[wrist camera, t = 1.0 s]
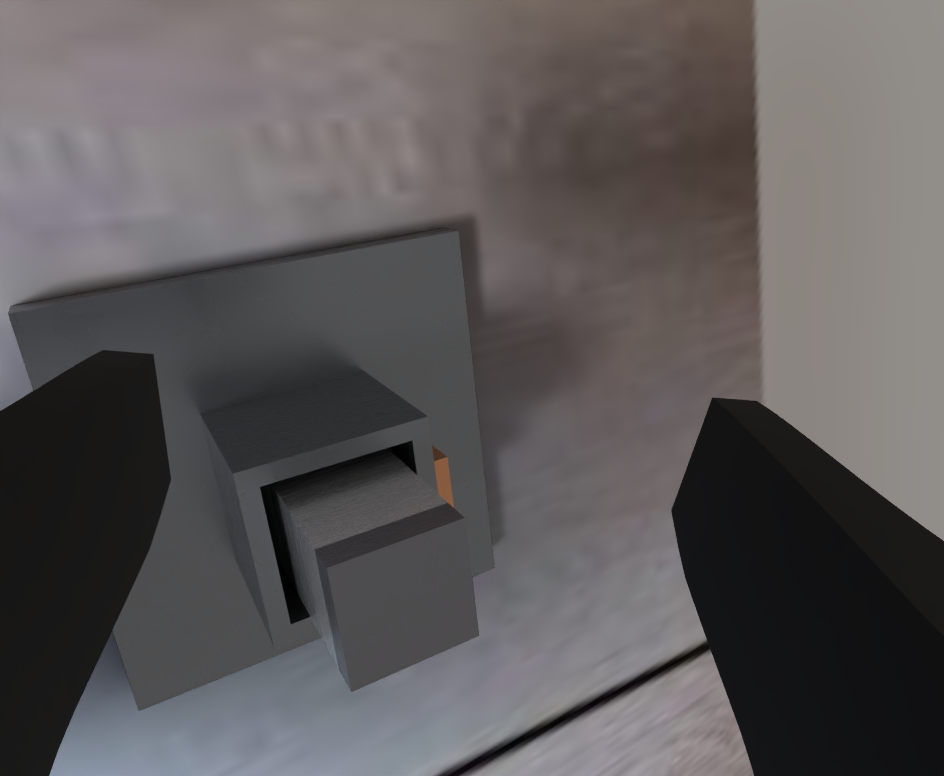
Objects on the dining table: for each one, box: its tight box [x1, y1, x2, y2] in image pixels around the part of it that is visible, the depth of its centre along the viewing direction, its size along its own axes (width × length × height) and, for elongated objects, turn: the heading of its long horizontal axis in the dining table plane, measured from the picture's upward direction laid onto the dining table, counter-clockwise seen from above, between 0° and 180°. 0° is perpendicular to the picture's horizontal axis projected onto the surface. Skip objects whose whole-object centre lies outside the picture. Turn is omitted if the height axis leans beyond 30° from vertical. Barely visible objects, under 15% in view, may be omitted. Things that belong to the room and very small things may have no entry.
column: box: [260, 448, 479, 692], centre depth 19 cm, size 3×3×8 cm
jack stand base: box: [8, 228, 494, 711], centre depth 21 cm, size 12×12×6 cm
